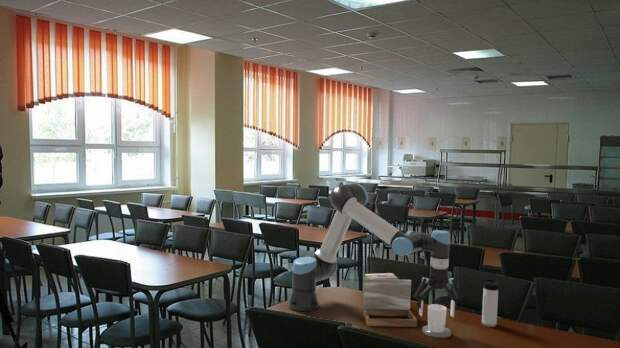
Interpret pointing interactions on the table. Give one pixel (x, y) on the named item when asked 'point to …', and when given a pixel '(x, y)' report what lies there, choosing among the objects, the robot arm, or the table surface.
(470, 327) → the table surface
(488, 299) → the travel mug
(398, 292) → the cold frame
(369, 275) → the tea box
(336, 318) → the table surface
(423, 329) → the slate saucer
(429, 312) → the white cup
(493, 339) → the table surface
